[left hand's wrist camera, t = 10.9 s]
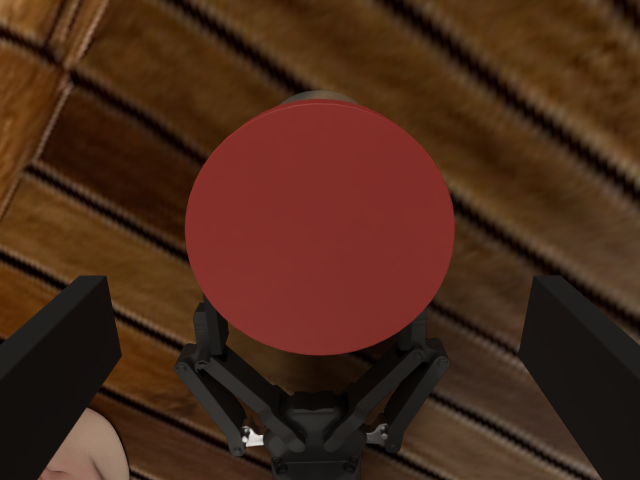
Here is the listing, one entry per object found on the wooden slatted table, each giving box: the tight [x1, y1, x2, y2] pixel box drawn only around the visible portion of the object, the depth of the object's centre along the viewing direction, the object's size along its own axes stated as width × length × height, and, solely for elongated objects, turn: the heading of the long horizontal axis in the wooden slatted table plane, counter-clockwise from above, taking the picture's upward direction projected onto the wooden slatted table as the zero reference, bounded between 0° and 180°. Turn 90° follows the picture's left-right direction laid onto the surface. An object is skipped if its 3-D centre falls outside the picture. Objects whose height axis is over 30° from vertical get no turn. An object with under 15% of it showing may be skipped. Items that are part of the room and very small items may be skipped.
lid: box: [185, 99, 455, 355], centre depth 20 cm, size 11×11×2 cm
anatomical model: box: [38, 408, 129, 480], centre depth 43 cm, size 13×4×12 cm
